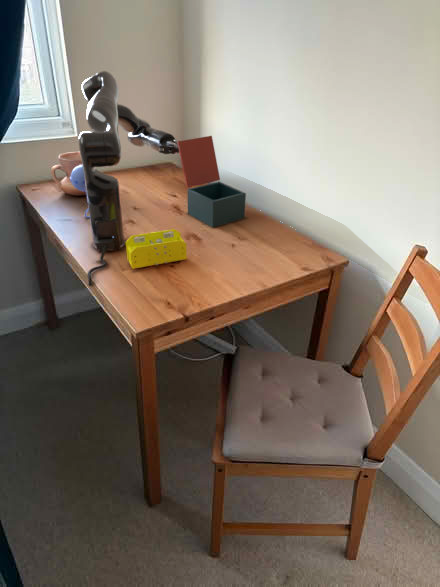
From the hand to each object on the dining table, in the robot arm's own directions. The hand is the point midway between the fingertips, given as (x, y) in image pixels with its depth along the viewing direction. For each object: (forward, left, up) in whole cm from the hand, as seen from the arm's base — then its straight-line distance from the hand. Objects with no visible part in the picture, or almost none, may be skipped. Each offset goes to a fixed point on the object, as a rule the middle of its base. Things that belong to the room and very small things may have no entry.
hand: (187, 152), depth 161 cm
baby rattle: (-9, +36, -18) cm, 41 cm away
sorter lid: (-7, -3, -1) cm, 8 cm away
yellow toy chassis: (-45, +17, -18) cm, 52 cm away
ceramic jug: (+17, +40, -18) cm, 47 cm away
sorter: (-15, -7, -18) cm, 25 cm away
